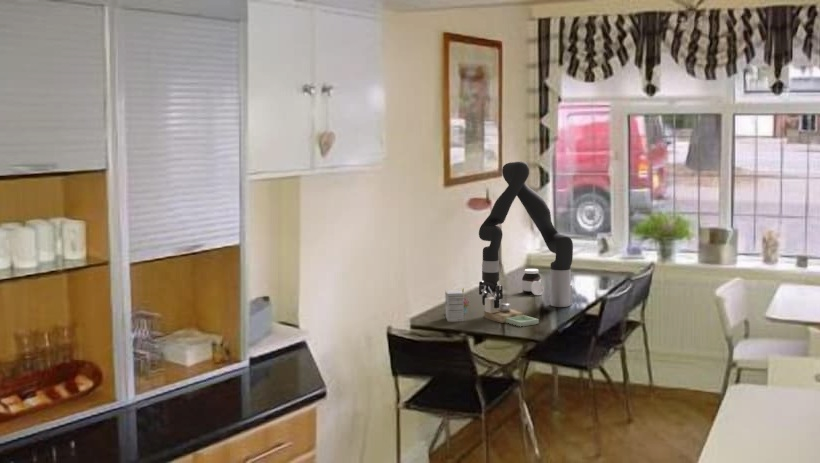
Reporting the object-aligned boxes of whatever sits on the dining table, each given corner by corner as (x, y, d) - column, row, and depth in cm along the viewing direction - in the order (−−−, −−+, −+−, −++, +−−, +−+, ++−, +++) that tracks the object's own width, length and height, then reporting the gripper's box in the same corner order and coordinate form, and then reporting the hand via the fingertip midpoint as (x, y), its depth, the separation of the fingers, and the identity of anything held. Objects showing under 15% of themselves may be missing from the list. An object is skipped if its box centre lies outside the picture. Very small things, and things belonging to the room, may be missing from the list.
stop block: (492, 310, 436) (492, 296, 436) (497, 311, 433) (497, 298, 432) (484, 311, 434) (484, 298, 433) (490, 312, 431) (490, 299, 430)
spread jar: (529, 290, 494) (529, 267, 493) (549, 292, 488) (549, 269, 486) (517, 294, 484) (517, 271, 483) (538, 296, 478) (538, 273, 476)
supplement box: (445, 318, 436) (444, 290, 434) (461, 317, 437) (461, 289, 435) (447, 321, 429) (446, 293, 427) (464, 321, 429) (463, 292, 428)
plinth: (507, 313, 442) (507, 306, 442) (525, 318, 431) (525, 311, 431) (484, 317, 435) (484, 310, 435) (502, 323, 424) (502, 315, 424)
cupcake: (471, 311, 448) (470, 286, 446) (466, 315, 440) (465, 289, 438) (453, 310, 450) (452, 285, 449) (447, 314, 443) (447, 288, 441)
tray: (523, 319, 430) (523, 315, 430) (538, 323, 422) (538, 319, 421) (505, 322, 425) (505, 318, 424) (520, 327, 416) (520, 322, 416)
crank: (512, 311, 431) (512, 295, 430) (502, 312, 430) (502, 296, 429) (499, 305, 443) (499, 290, 442) (489, 306, 441) (489, 291, 440)
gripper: (507, 271, 427) (507, 308, 429) (487, 267, 439) (487, 302, 441) (493, 273, 423) (493, 310, 425) (474, 269, 435) (474, 304, 437)
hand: (490, 306), depth 433 cm, fingers open, 8 cm apart
